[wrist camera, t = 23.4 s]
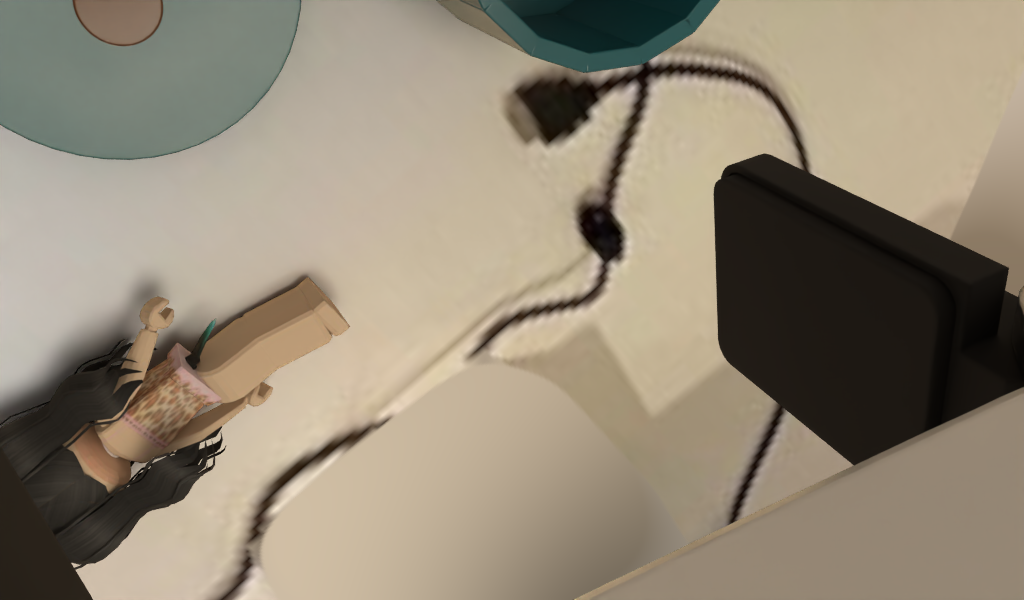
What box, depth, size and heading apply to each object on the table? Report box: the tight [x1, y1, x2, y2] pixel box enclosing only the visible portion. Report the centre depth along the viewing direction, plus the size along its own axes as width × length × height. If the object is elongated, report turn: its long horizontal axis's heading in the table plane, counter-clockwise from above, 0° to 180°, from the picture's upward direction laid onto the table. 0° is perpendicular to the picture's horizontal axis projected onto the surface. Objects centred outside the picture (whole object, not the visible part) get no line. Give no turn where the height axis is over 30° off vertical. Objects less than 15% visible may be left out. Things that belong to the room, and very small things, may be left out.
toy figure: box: [0, 277, 350, 569], centre depth 36 cm, size 7×6×15 cm
